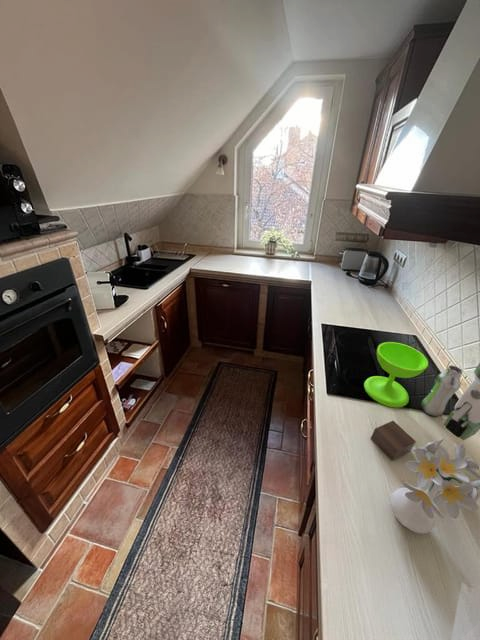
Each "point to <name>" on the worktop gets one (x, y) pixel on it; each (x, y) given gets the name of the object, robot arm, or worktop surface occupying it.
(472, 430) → the green block
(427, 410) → the plastic bottle
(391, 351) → the wineglass
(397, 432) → the walnut block
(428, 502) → the flower vase
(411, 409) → the worktop surface
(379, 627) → the worktop surface
